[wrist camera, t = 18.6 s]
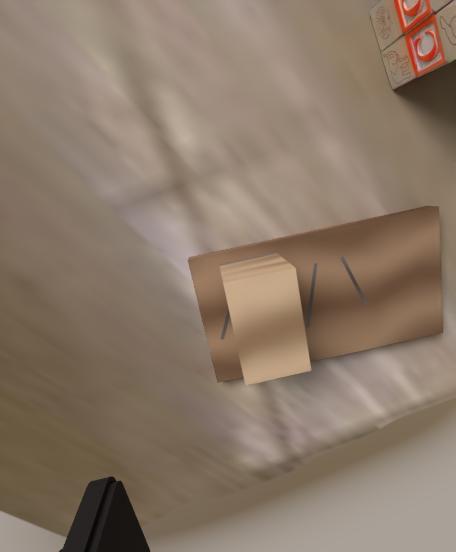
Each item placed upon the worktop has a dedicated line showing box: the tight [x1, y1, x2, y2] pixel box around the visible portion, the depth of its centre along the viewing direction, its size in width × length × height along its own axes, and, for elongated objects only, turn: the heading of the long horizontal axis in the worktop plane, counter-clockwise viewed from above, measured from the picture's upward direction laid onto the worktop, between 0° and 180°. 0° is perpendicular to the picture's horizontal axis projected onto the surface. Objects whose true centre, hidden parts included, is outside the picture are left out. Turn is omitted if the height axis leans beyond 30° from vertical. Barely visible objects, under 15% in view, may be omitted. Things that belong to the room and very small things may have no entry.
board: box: [188, 206, 443, 383], centre depth 30 cm, size 12×22×2 cm, turn 102°
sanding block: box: [219, 252, 311, 385], centre depth 26 cm, size 8×5×6 cm, turn 12°
